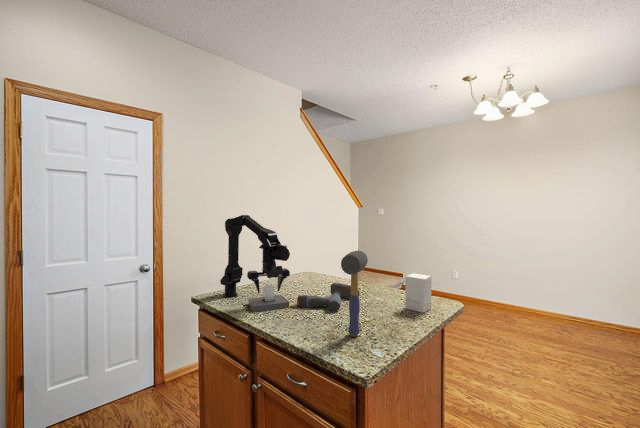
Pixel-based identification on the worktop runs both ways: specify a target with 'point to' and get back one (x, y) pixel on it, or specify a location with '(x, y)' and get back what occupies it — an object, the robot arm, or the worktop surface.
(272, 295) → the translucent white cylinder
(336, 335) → the worktop surface
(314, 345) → the worktop surface
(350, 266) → the rubber mallet
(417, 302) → the supplement box
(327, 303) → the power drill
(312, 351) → the worktop surface
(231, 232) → the robot arm
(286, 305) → the grey slab with hole
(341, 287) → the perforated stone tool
